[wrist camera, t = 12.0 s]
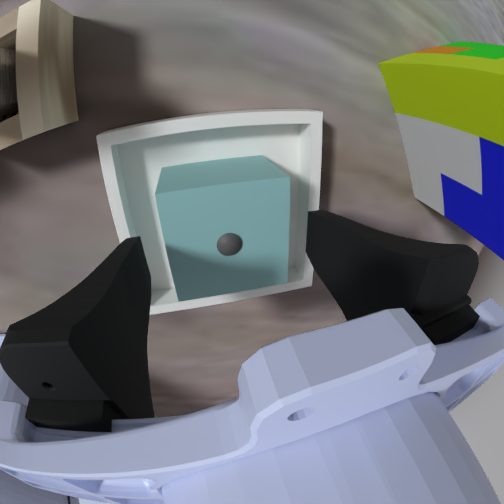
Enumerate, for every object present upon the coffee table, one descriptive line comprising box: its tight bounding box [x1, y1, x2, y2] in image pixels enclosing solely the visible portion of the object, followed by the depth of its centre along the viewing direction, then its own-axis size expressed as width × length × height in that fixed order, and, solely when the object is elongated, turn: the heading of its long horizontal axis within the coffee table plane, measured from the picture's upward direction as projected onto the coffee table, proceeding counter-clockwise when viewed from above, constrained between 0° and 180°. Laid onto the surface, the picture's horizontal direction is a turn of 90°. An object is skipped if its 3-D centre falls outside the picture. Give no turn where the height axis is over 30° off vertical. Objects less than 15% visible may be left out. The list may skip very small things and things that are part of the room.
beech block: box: [0, 0, 79, 150], centre depth 7 cm, size 6×6×4 cm
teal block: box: [155, 155, 290, 302], centre depth 13 cm, size 5×5×4 cm
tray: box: [96, 109, 323, 315], centre depth 14 cm, size 10×10×2 cm
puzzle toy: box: [378, 42, 504, 260], centre depth 11 cm, size 10×10×10 cm
